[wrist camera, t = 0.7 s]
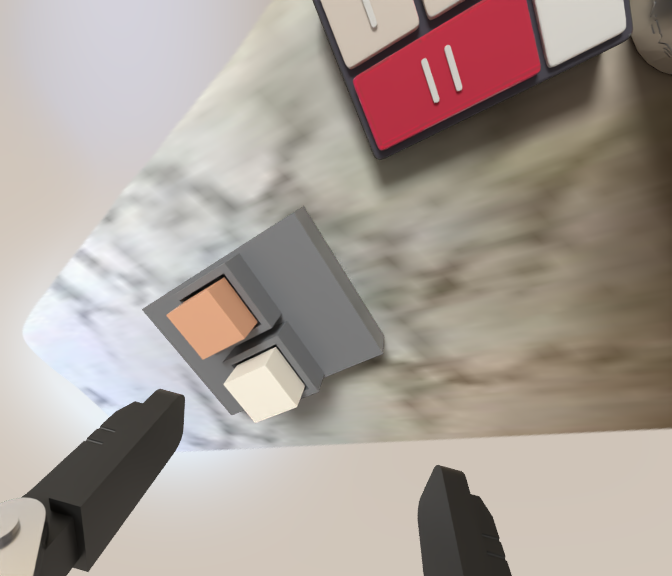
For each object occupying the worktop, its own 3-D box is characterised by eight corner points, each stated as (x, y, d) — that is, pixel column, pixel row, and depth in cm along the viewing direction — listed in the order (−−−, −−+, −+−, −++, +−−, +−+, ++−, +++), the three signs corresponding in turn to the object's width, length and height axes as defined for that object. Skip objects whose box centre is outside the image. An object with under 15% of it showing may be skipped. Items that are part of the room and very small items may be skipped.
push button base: (303, 206, 27) (283, 218, 22) (384, 335, 31) (382, 371, 26) (162, 296, 33) (121, 322, 28) (243, 395, 37) (219, 434, 32)
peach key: (224, 277, 25) (207, 289, 23) (257, 322, 26) (244, 338, 24) (185, 300, 26) (166, 315, 24) (218, 342, 27) (202, 359, 25)
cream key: (276, 346, 27) (265, 365, 24) (305, 385, 28) (297, 406, 26) (236, 365, 28) (223, 384, 26) (265, 401, 29) (255, 422, 27)
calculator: (301, -22, 19) (608, -259, 13) (320, 5, 22) (564, -170, 17) (375, 163, 22) (645, 32, 17) (380, 159, 26) (601, 52, 20)
